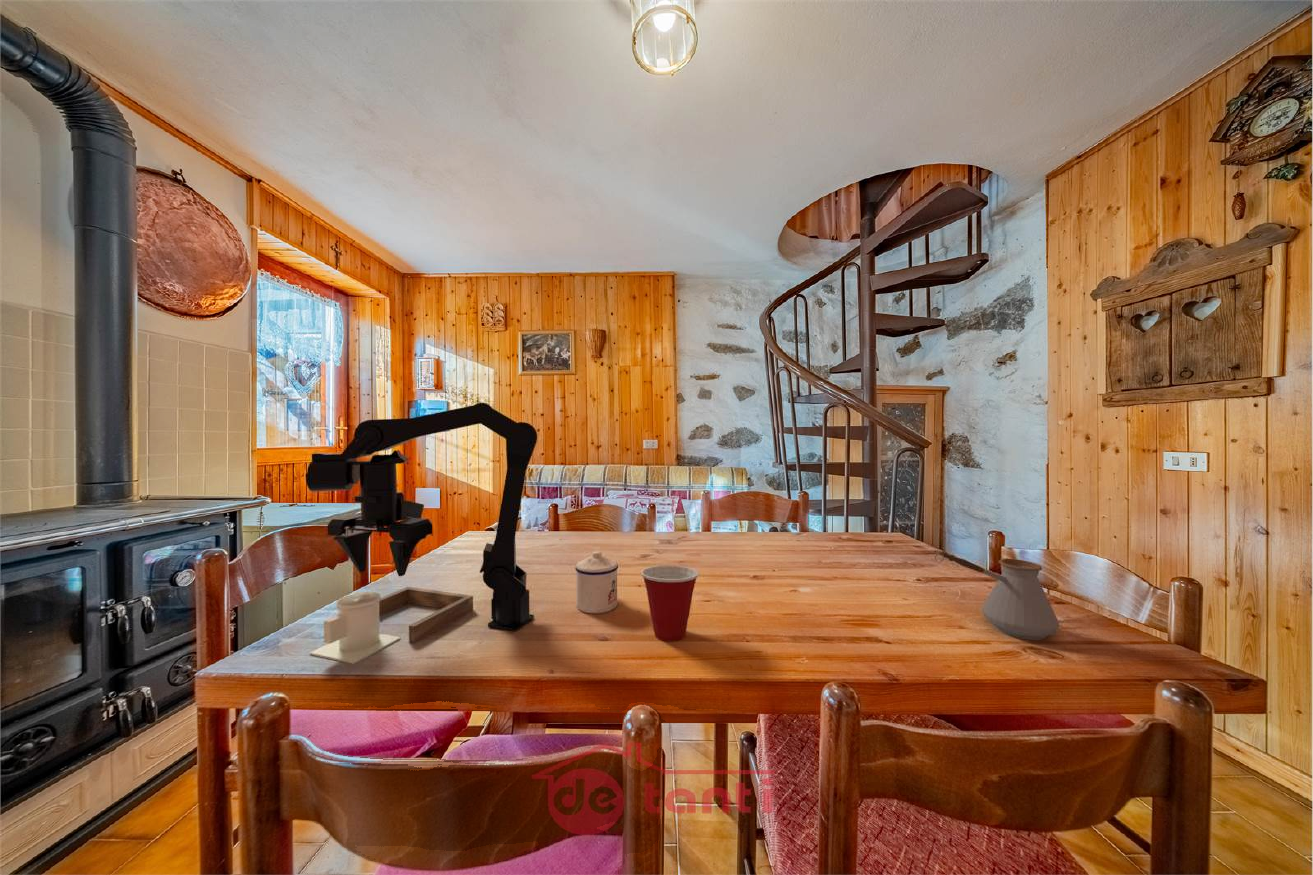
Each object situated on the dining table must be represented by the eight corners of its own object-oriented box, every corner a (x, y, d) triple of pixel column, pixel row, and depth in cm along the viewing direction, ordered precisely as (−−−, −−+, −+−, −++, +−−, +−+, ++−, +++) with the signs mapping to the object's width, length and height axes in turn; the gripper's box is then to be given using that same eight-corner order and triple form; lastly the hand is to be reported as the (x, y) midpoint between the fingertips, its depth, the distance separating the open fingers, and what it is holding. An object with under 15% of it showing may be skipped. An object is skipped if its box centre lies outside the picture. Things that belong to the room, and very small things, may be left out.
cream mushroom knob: (362, 632, 84) (362, 590, 84) (389, 637, 82) (388, 594, 82) (313, 656, 75) (312, 608, 75) (342, 662, 74) (341, 613, 73)
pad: (400, 638, 82) (400, 637, 82) (353, 663, 74) (353, 662, 74) (359, 631, 85) (358, 629, 85) (309, 654, 77) (309, 652, 77)
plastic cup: (697, 621, 90) (697, 561, 89) (700, 648, 79) (701, 580, 79) (642, 620, 90) (642, 560, 90) (638, 647, 79) (638, 579, 79)
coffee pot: (1024, 618, 92) (1026, 544, 91) (1076, 645, 80) (1079, 561, 80) (918, 617, 92) (919, 543, 91) (955, 644, 80) (956, 561, 80)
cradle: (473, 609, 95) (473, 595, 95) (414, 643, 81) (414, 626, 80) (408, 600, 100) (407, 586, 100) (341, 629, 86) (341, 614, 86)
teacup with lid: (617, 614, 93) (617, 558, 93) (573, 615, 92) (573, 558, 92) (618, 592, 105) (618, 542, 105) (579, 593, 104) (578, 543, 104)
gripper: (453, 484, 87) (455, 564, 88) (377, 481, 93) (380, 557, 93) (406, 492, 77) (409, 584, 77) (323, 489, 82) (327, 574, 83)
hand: (381, 573), depth 83 cm, fingers open, 9 cm apart
